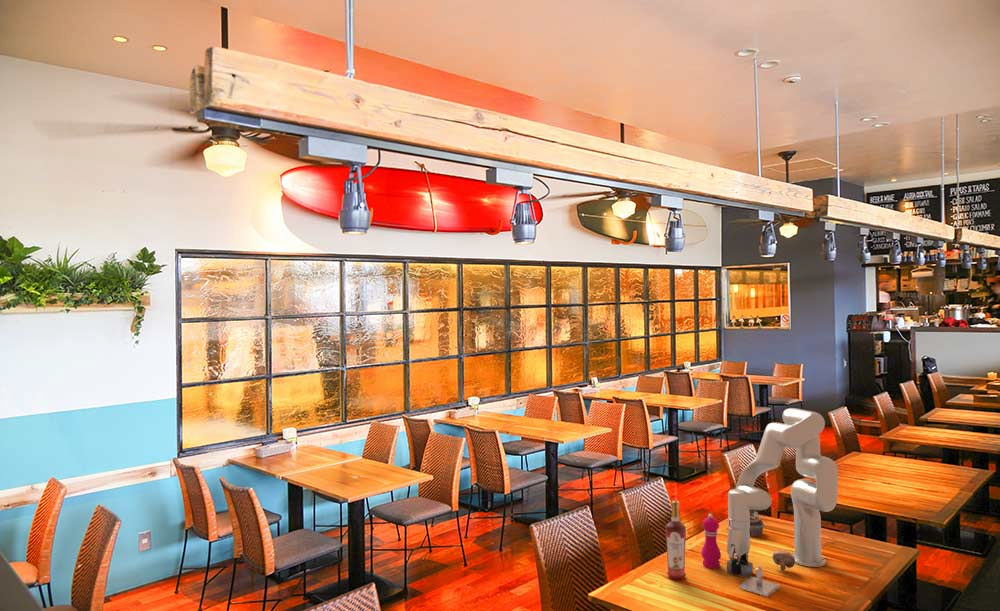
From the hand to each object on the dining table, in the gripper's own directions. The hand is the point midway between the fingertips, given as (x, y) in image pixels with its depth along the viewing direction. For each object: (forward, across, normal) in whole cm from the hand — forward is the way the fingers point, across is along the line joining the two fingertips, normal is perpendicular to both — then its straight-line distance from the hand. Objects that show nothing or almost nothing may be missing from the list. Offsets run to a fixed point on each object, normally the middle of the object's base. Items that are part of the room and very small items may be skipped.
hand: (739, 570), depth 241 cm
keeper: (+1, +8, +11) cm, 14 cm away
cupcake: (+1, -44, -15) cm, 46 cm away
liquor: (+1, +20, -15) cm, 25 cm away
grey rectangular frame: (+1, 0, 0) cm, 1 cm away
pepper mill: (+1, +1, -11) cm, 11 cm away
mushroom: (+1, -13, +11) cm, 17 cm away
